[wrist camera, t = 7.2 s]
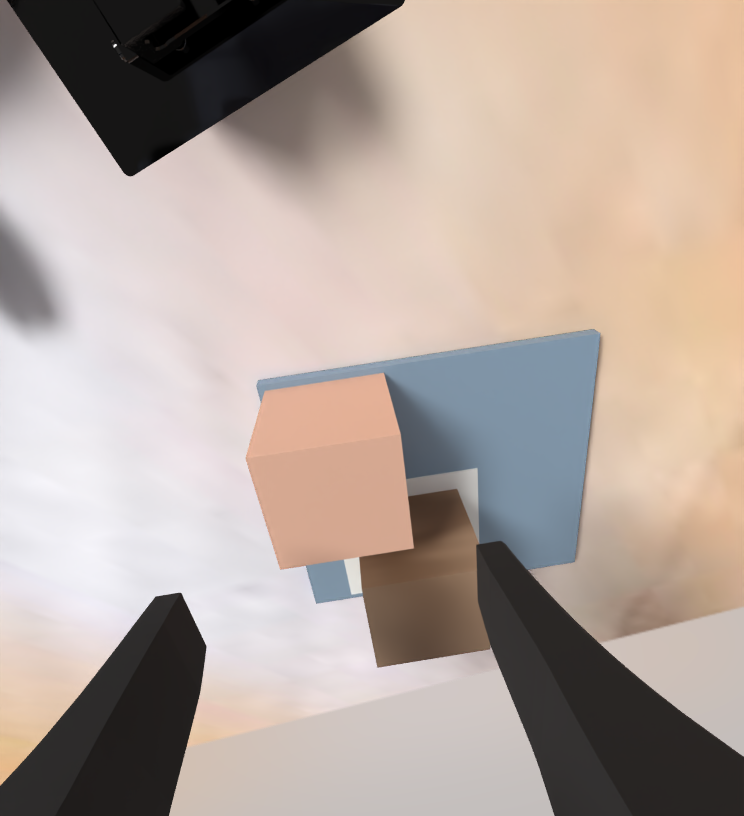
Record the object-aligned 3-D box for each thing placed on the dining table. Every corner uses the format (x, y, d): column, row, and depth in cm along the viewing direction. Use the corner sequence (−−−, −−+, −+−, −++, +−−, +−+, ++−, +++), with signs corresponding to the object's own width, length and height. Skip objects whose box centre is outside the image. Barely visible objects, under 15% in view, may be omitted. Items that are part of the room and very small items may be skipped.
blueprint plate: (593, 328, 18) (601, 333, 17) (569, 554, 23) (575, 563, 23) (258, 380, 17) (256, 386, 17) (316, 595, 23) (316, 604, 23)
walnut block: (457, 488, 20) (489, 568, 16) (460, 562, 22) (489, 649, 18) (354, 504, 20) (361, 588, 16) (368, 577, 22) (377, 667, 18)
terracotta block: (383, 372, 17) (400, 434, 13) (395, 469, 19) (413, 548, 15) (264, 390, 17) (245, 458, 13) (290, 486, 19) (280, 569, 15)
